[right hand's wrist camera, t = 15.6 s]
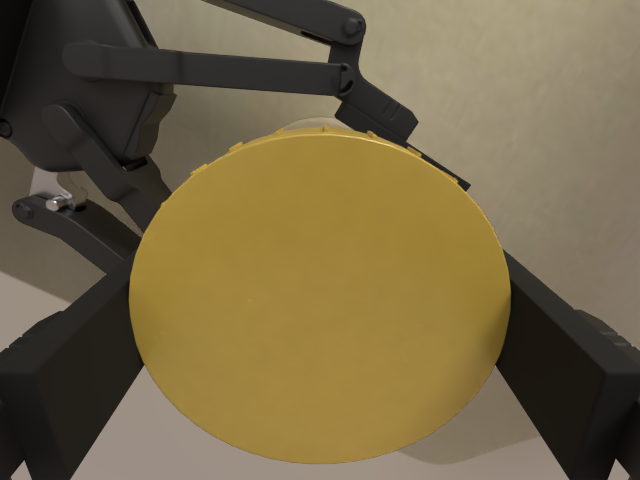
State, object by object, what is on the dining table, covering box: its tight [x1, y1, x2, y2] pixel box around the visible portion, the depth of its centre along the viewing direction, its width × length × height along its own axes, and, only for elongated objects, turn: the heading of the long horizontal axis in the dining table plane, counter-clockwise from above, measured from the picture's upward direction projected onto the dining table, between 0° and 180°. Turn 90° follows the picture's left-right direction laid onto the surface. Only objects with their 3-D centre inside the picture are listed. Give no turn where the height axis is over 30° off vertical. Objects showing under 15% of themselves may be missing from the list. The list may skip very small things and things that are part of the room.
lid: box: [129, 124, 511, 464], centre depth 11 cm, size 10×10×2 cm
